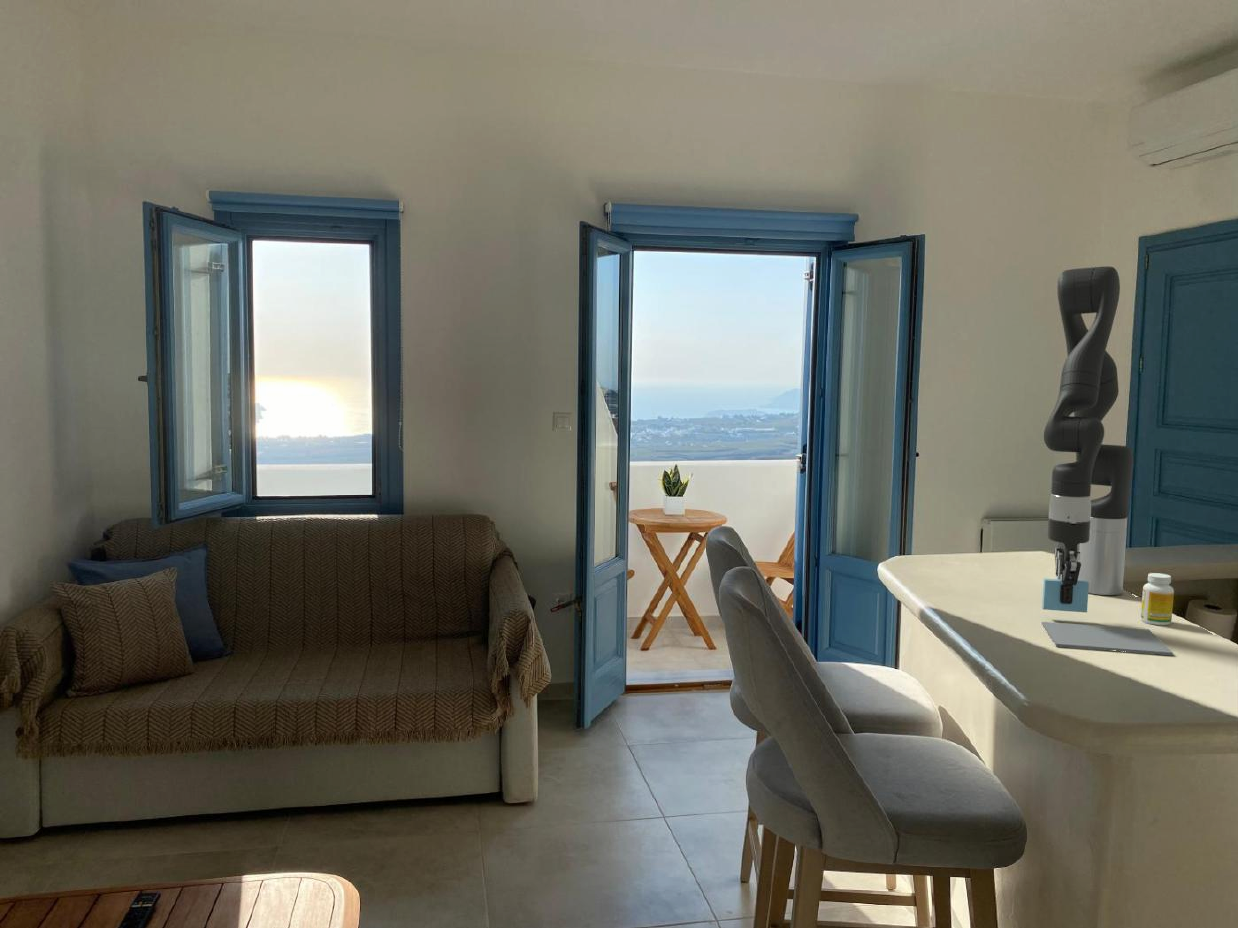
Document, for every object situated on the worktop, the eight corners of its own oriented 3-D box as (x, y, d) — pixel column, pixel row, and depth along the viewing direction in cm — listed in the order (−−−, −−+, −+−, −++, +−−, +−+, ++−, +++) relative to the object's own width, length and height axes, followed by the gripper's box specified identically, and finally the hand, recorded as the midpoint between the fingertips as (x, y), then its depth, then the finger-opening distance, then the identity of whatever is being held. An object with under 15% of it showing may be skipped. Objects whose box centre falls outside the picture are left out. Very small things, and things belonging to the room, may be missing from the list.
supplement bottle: (1134, 619, 190) (1137, 572, 189) (1156, 617, 191) (1159, 571, 190) (1155, 626, 185) (1159, 578, 184) (1178, 624, 186) (1181, 577, 185)
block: (1042, 607, 191) (1043, 578, 190) (1085, 610, 189) (1087, 581, 188) (1043, 609, 189) (1045, 580, 188) (1086, 612, 187) (1089, 583, 186)
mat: (1041, 624, 186) (1041, 621, 186) (1148, 632, 181) (1148, 629, 181) (1056, 646, 171) (1056, 643, 171) (1172, 655, 166) (1172, 652, 166)
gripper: (1042, 510, 194) (1038, 592, 196) (1055, 522, 181) (1051, 610, 183) (1082, 511, 192) (1077, 594, 194) (1098, 524, 179) (1093, 612, 181)
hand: (1064, 601), depth 189 cm, fingers closed on block, 1 cm apart
